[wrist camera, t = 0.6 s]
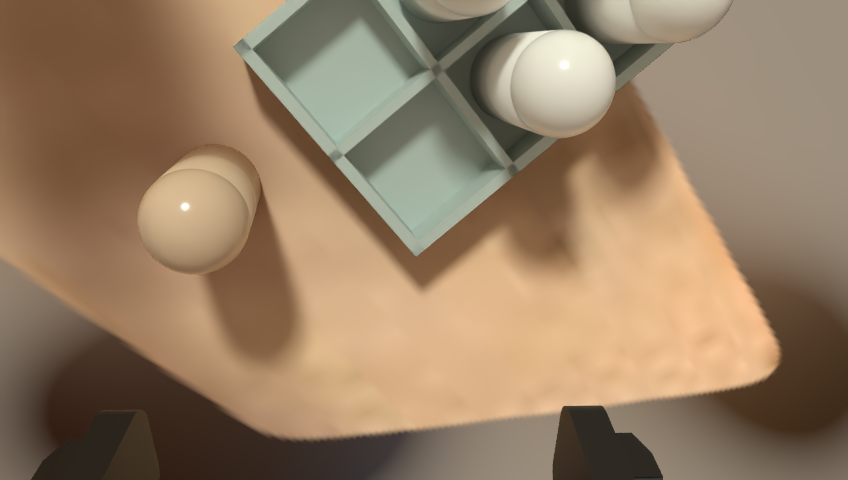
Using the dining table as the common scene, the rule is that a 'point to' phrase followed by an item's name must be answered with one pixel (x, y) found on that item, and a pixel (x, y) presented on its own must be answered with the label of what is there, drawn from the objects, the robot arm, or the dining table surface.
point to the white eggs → (566, 56)
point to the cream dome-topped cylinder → (200, 210)
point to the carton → (407, 101)
